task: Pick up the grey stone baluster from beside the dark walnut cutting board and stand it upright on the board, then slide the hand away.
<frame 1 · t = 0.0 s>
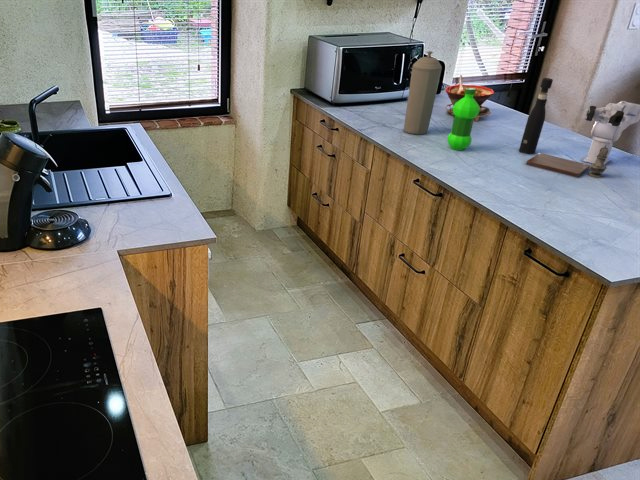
hand: (599, 117, 221), 22 cm above the worktop, tool horizontal, fingers open, 7 cm apart
cutting board: (557, 166, 239), on the worktop
canister: (415, 131, 275), on the worktop
grey stone baluster: (594, 175, 232), on the worktop
black bottle: (526, 152, 254), on the worktop
stew: (464, 113, 302), on the worktop
plastic bottle: (457, 148, 256), on the worktop
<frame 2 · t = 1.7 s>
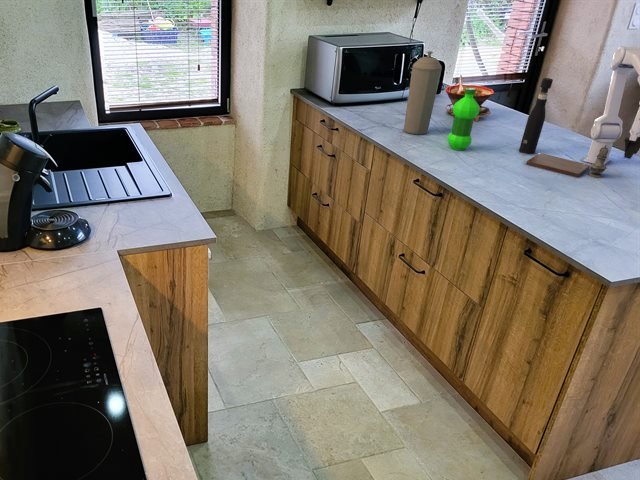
hand: (630, 155, 221), 10 cm above the worktop, tool pointing down, fingers open, 7 cm apart
nothing on the worktop moved.
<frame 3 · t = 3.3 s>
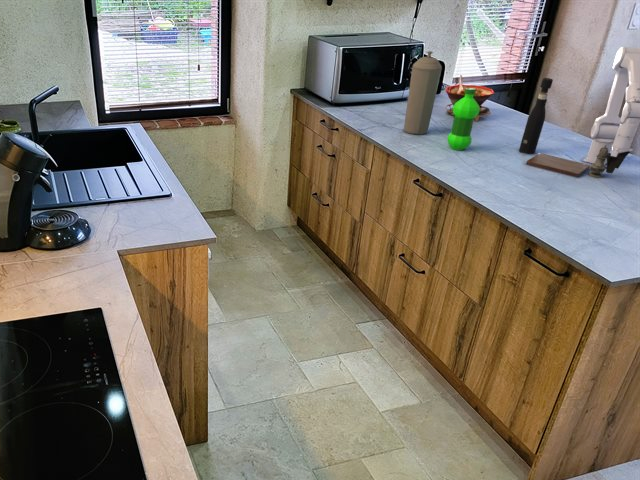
hand: (612, 170, 227), 3 cm above the worktop, tool pointing down, fingers open, 7 cm apart
nothing on the worktop moved.
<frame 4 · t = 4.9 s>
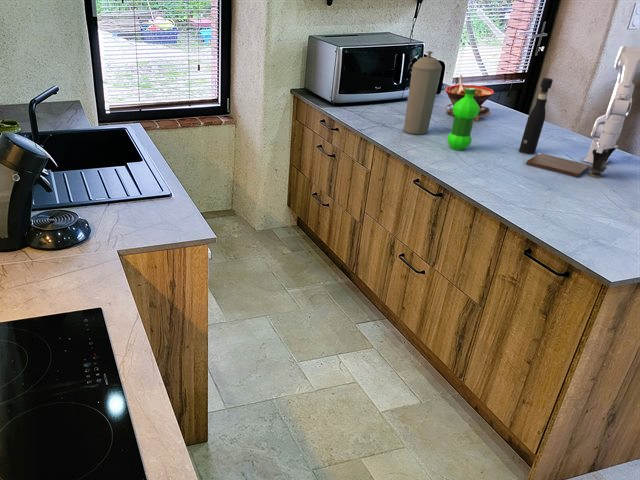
hand: (598, 166, 230), 3 cm above the worktop, tool pointing down, fingers closed on grey stone baluster, 6 cm apart
grey stone baluster: (594, 175, 232), on the worktop, touching gripper
everything else where it was.
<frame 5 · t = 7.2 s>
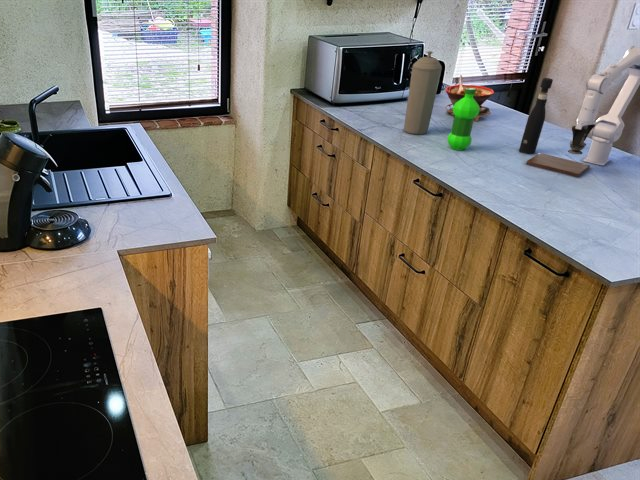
hand: (577, 143, 231), 10 cm above the worktop, tool pointing down, fingers closed on grey stone baluster, 6 cm apart
grey stone baluster: (574, 152, 233), point 7 cm above the worktop, touching gripper
everything else where it was.
when the fingers open (5 cm above the worktop, at t = 9.8 s): grey stone baluster stays where it is, resting on cutting board.
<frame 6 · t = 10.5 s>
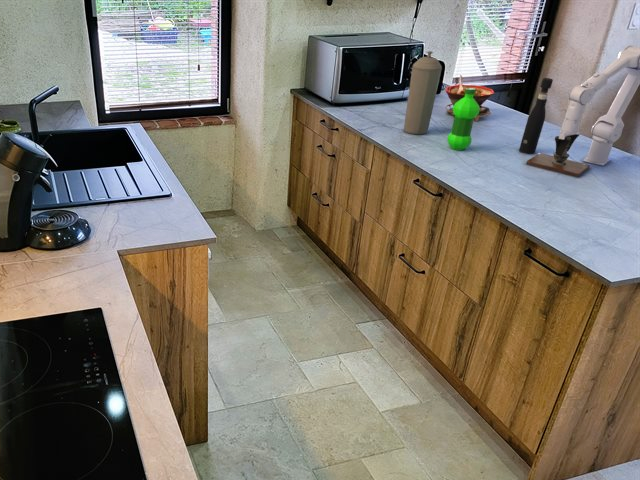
hand: (561, 153, 236), 6 cm above the worktop, tool pointing down, fingers open, 7 cm apart
grey stone baluster: (558, 163, 238), point 1 cm above the worktop, touching cutting board
everything else where it was.
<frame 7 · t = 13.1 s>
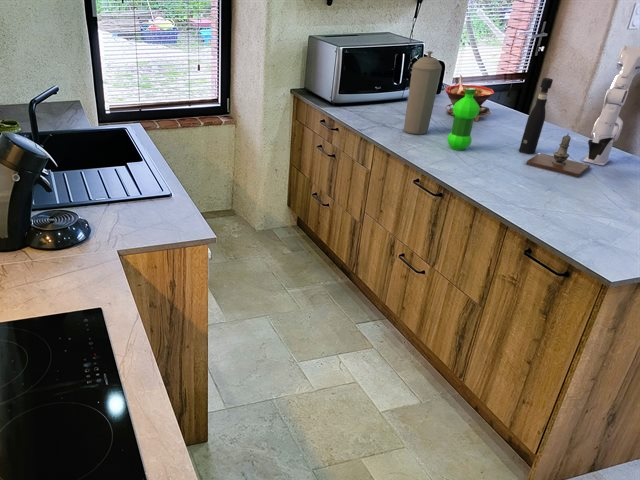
hand: (594, 156, 228), 7 cm above the worktop, tool pointing down, fingers open, 7 cm apart
nothing on the worktop moved.
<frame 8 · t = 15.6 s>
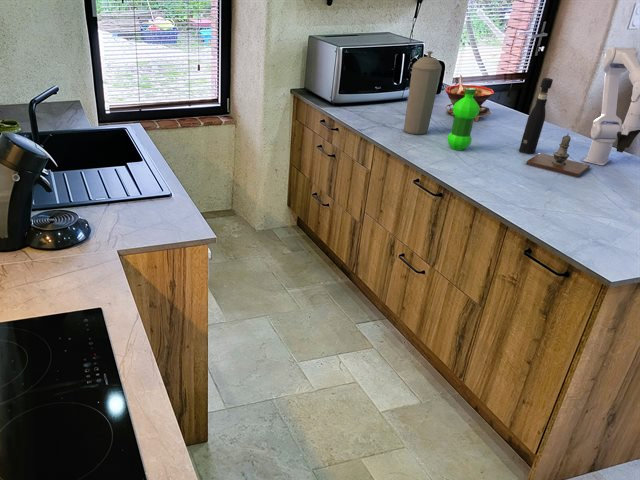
hand: (622, 149, 226), 10 cm above the worktop, tool pointing down, fingers open, 7 cm apart
nothing on the worktop moved.
at the end: grey stone baluster inside the target area on the cutting board (0.0 cm from its centre), point 1.3 cm above the cutting board's base; grey stone baluster tilted 0°; the gripper is holding nothing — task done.
